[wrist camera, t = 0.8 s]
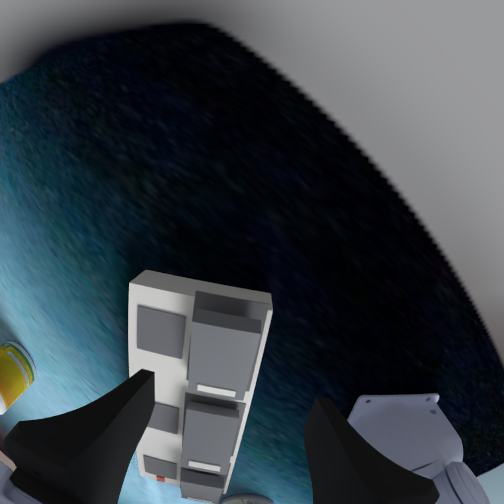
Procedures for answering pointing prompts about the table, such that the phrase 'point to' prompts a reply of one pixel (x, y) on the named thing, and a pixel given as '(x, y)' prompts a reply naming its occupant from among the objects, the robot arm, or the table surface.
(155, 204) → the table surface
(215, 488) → the rocker
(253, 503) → the aerosol can
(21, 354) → the supplement bottle
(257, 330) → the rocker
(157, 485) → the table surface
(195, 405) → the rocker
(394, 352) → the table surface
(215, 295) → the power strip
